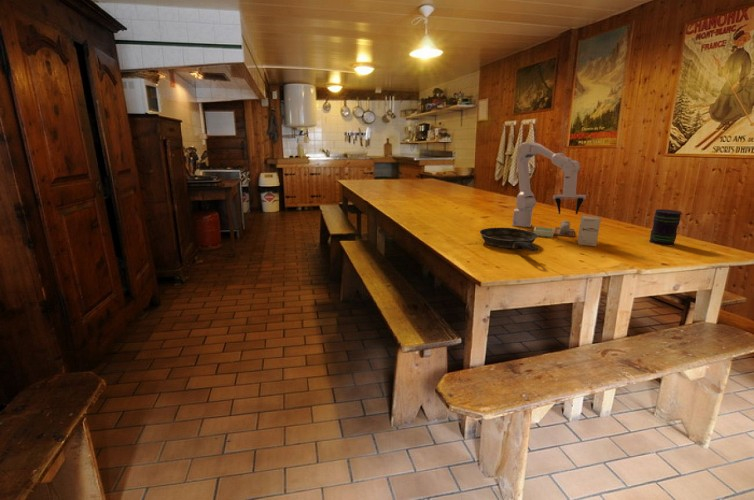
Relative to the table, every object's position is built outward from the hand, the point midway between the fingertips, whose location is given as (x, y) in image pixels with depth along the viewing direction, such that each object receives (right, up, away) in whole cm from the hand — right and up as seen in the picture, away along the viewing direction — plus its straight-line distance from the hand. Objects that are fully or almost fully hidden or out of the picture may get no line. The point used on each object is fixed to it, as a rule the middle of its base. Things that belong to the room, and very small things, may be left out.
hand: (567, 213), depth 197 cm
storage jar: (+39, -15, -11) cm, 43 cm away
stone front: (-1, -10, +3) cm, 10 cm away
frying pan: (-34, -17, -21) cm, 44 cm away
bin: (-11, -10, +2) cm, 15 cm away
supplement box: (+2, -15, -14) cm, 21 cm away
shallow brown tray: (+1, -9, +7) cm, 11 cm away
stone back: (+3, -8, +10) cm, 13 cm away
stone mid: (+1, -9, +6) cm, 11 cm away
